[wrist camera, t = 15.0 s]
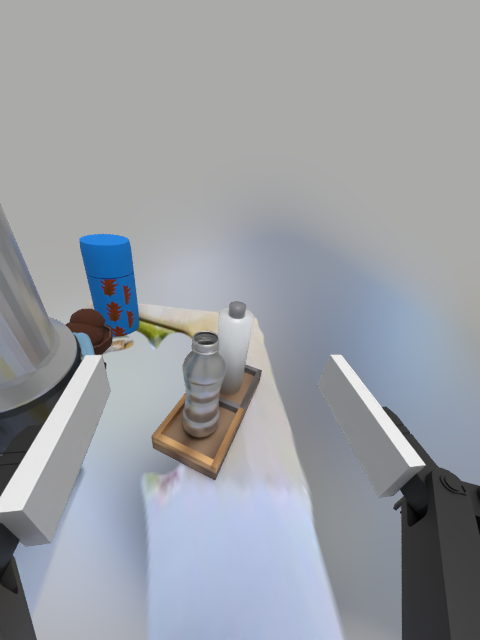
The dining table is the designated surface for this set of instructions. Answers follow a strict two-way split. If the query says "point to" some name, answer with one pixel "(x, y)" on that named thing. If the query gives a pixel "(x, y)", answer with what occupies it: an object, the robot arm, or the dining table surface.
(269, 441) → the dining table surface
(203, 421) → the plastic bottle
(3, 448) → the robot arm
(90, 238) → the thermos
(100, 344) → the ice cream bowl
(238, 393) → the tray
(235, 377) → the bottle
